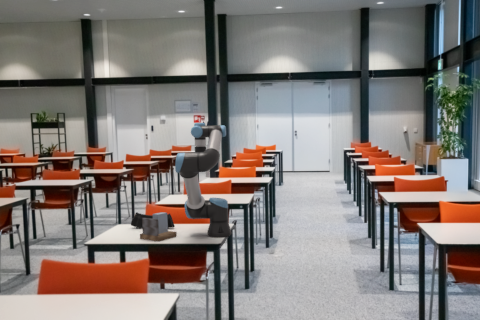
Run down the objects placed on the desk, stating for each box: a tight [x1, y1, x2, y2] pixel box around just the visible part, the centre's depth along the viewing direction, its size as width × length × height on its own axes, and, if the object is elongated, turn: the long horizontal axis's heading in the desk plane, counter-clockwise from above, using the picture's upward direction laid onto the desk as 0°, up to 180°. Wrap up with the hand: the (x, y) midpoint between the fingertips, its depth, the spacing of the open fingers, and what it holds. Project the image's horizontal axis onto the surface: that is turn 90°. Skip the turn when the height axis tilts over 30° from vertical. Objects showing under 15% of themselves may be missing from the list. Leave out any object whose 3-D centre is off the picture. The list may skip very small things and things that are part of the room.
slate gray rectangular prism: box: [152, 212, 169, 234], centre depth 328 cm, size 5×8×12 cm, turn 145°
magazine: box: [130, 212, 175, 229], centre depth 358 cm, size 17×3×30 cm
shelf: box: [139, 218, 178, 242], centre depth 327 cm, size 16×16×13 cm
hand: (201, 178), depth 347 cm, fingers open, 13 cm apart
